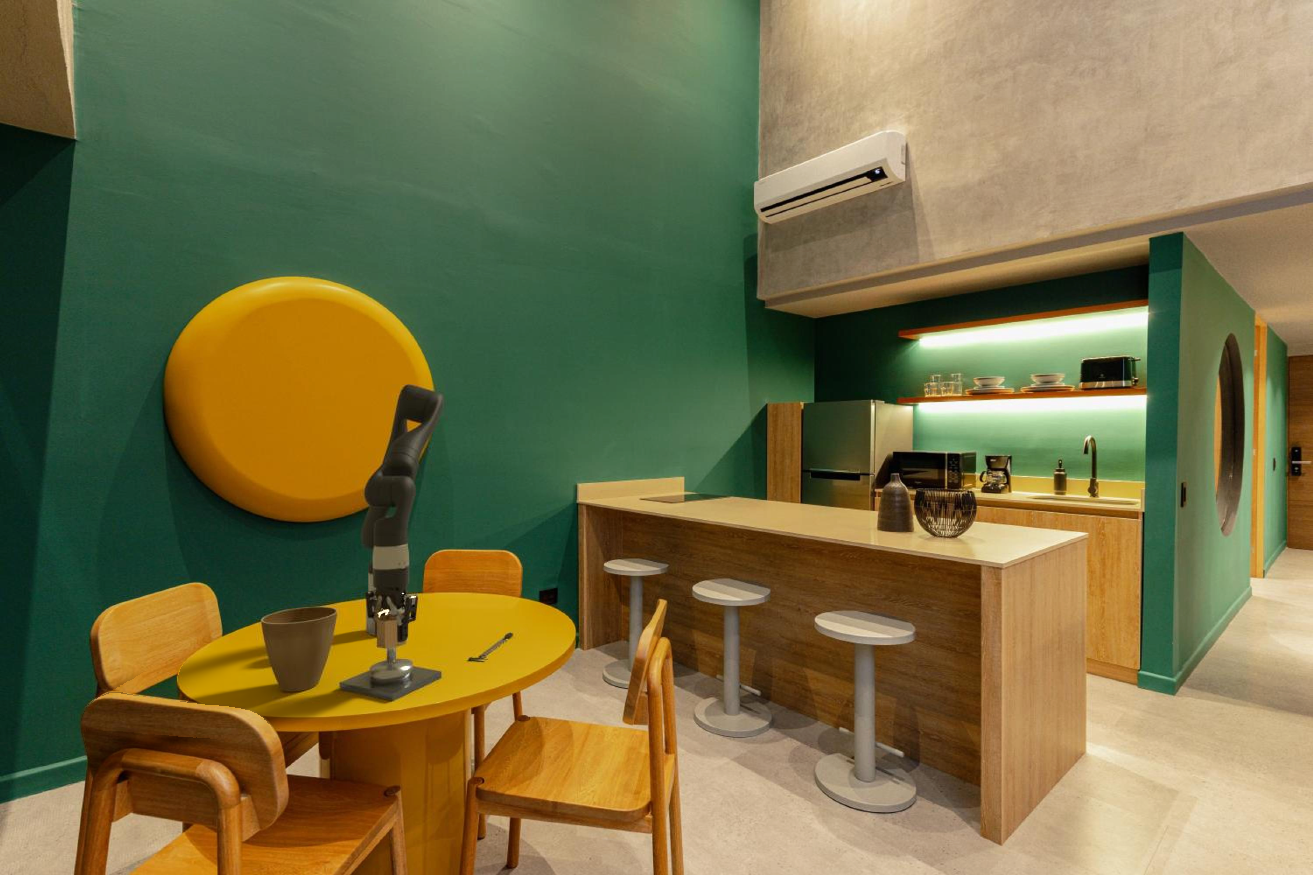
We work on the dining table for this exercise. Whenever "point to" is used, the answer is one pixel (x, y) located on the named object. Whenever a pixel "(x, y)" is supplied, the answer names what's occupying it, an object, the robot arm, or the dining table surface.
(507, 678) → the dining table surface
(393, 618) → the copper ring
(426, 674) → the piston base
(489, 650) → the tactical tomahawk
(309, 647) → the plant pot
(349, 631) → the dining table surface
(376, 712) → the dining table surface
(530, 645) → the dining table surface
